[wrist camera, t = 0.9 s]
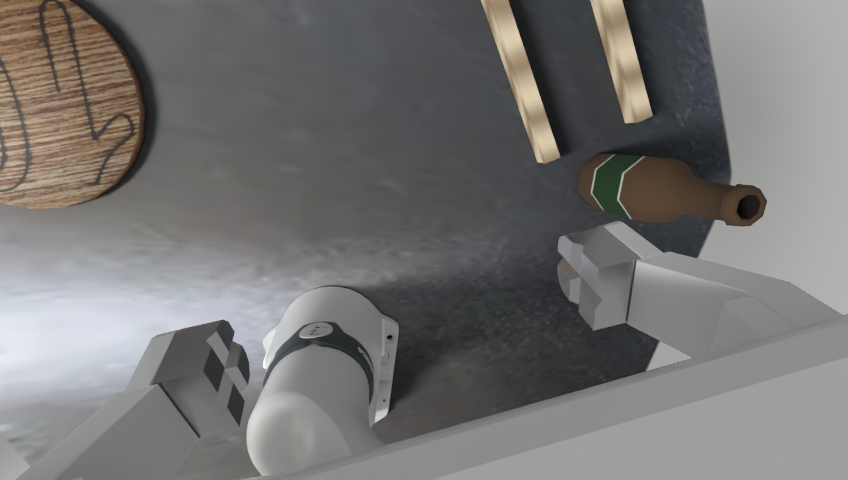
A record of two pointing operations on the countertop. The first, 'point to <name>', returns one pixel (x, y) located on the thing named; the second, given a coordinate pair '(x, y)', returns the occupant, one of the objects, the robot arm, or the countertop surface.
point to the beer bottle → (664, 191)
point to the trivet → (64, 105)
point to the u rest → (524, 85)
